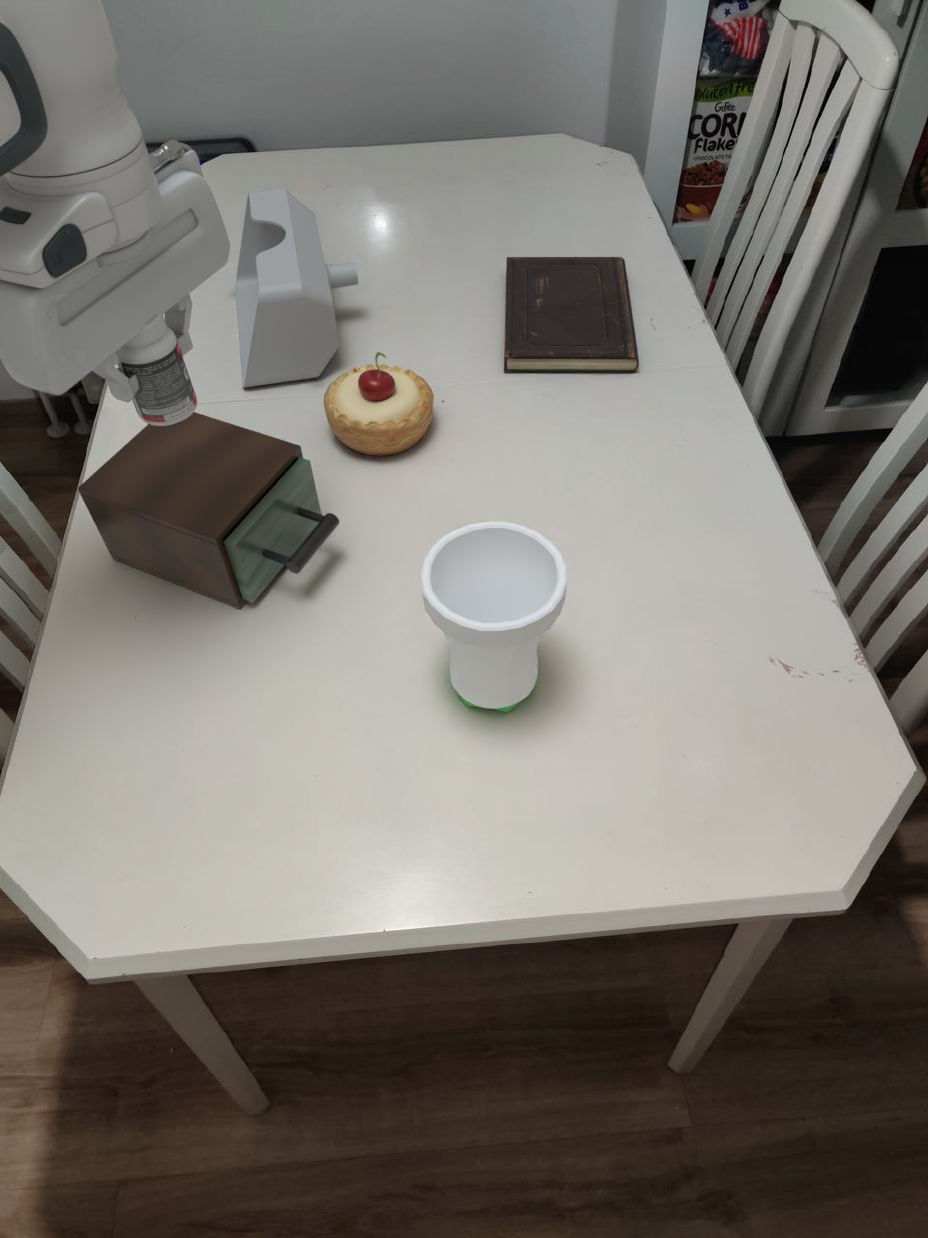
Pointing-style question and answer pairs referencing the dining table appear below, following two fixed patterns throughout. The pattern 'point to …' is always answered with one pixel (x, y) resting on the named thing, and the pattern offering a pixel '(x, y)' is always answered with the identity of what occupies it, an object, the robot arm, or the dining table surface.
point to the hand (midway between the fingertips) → (154, 373)
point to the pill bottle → (159, 375)
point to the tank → (285, 292)
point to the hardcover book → (568, 316)
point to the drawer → (278, 531)
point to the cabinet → (184, 499)
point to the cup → (493, 607)
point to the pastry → (379, 408)
